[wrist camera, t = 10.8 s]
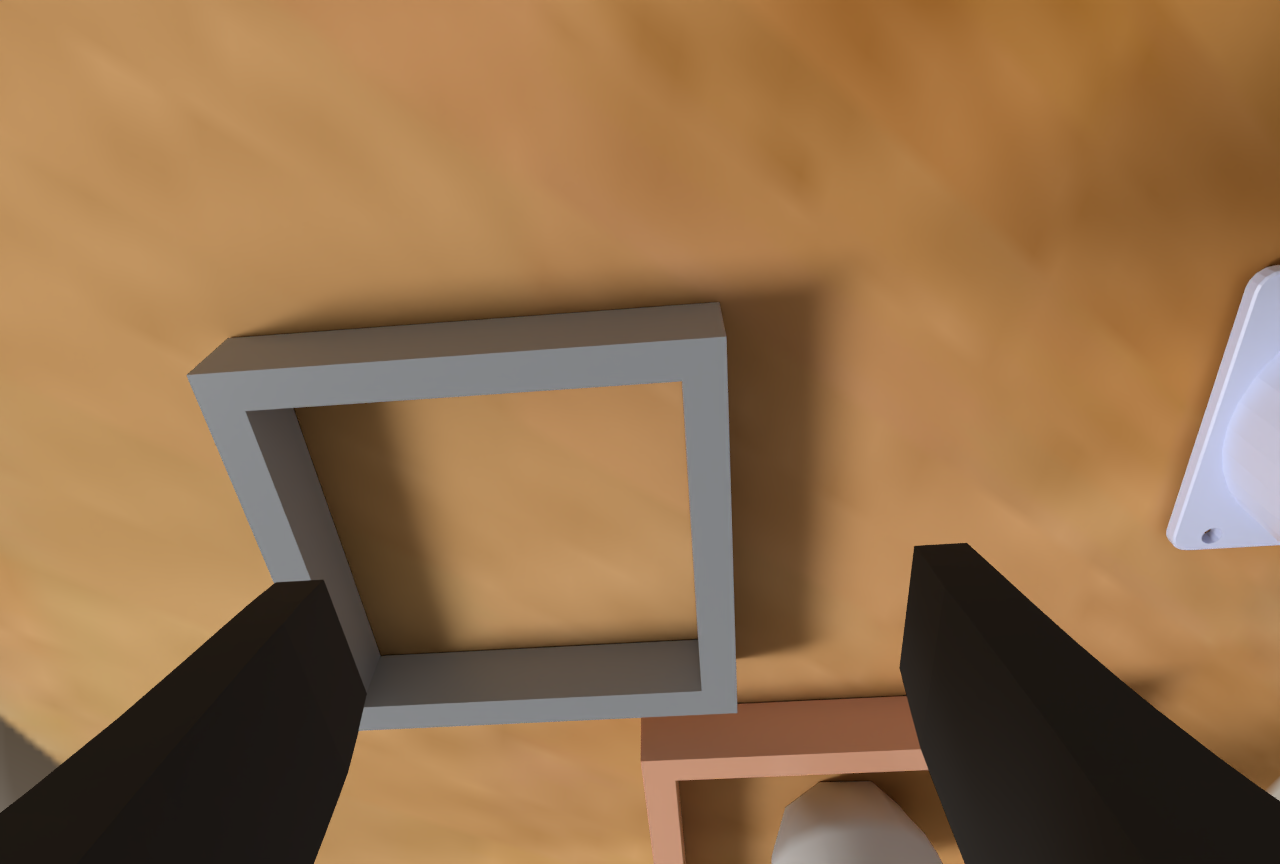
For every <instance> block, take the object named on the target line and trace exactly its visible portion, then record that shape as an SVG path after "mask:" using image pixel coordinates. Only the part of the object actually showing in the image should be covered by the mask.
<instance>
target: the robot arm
mask: <svg viewBox="0 0 1280 864" xmlns="http://www.w3.org/2000/svg"><path fill="white" fill-rule="evenodd" d="M1209 529H1211V530H1210V531H1208V530H1209ZM1206 531H1208V532H1207V533H1205V532H1206ZM1204 533H1205V534H1204ZM1166 536H1167V538H1168V539H1169V541H1170V542H1171V543H1172V544H1173V545H1174V546H1175V547H1176V548H1178V549H1180V550H1199V549H1217V548H1235V547H1253V546H1271V545H1280V265H1274V266H1270V267H1266V268H1264V269H1263V270H1261V271H1259V272H1257V273H1256V274H1255V275H1254V276H1253V277H1252V278H1251V279H1250V281H1249V282H1248V284H1247V286H1246V288H1245V291H1244V294H1243V297H1242V300H1241V303H1240V306H1239V310H1238V313H1237V316H1236V319H1235V322H1234V325H1233V328H1232V331H1231V334H1230V337H1229V340H1228V343H1227V346H1226V349H1225V352H1224V356H1223V359H1222V362H1221V365H1220V368H1219V371H1218V374H1217V377H1216V380H1215V383H1214V386H1213V389H1212V392H1211V395H1210V398H1209V402H1208V405H1207V408H1206V411H1205V414H1204V417H1203V420H1202V423H1201V426H1200V429H1199V432H1198V435H1197V438H1196V441H1195V444H1194V448H1193V451H1192V454H1191V457H1190V460H1189V463H1188V466H1187V469H1186V472H1185V475H1184V478H1183V481H1182V484H1181V487H1180V491H1179V494H1178V497H1177V500H1176V503H1175V506H1174V509H1173V512H1172V515H1171V518H1170V521H1169V524H1168V527H1167V532H1166ZM900 671H901V675H902V679H903V683H904V687H905V691H906V695H907V699H908V703H909V707H910V711H911V715H912V719H913V722H914V726H915V730H916V734H917V737H918V741H919V745H920V748H921V751H922V754H923V756H924V759H925V762H926V764H927V767H928V770H929V772H930V775H931V778H932V780H933V783H934V785H935V788H936V791H937V793H938V796H939V798H940V801H941V804H942V806H943V809H944V811H945V814H946V817H947V819H948V822H949V824H950V827H951V829H952V832H953V834H954V837H955V840H956V842H957V845H958V847H959V850H960V852H961V855H962V858H963V860H964V863H965V864H1280V801H1279V800H1277V799H1276V798H1274V797H1273V796H1272V795H1270V794H1269V793H1267V792H1266V791H1264V790H1263V789H1261V788H1260V787H1259V786H1257V785H1256V784H1254V783H1253V782H1252V781H1250V780H1249V779H1247V778H1246V777H1245V776H1243V775H1242V774H1241V773H1239V772H1238V771H1237V770H1235V769H1234V768H1232V767H1231V766H1230V765H1228V764H1227V763H1226V762H1224V761H1223V760H1222V759H1220V758H1219V757H1218V756H1216V755H1215V754H1214V753H1212V752H1211V751H1210V750H1208V749H1207V748H1206V747H1205V746H1203V745H1202V744H1201V743H1199V742H1198V741H1197V740H1196V739H1194V738H1193V737H1192V736H1190V735H1189V734H1188V733H1186V732H1185V731H1184V730H1183V729H1181V728H1180V727H1179V726H1177V725H1176V724H1175V723H1174V722H1172V721H1171V720H1170V719H1168V718H1167V717H1166V716H1165V715H1163V714H1162V713H1161V712H1159V711H1158V710H1157V709H1156V708H1154V707H1153V706H1152V705H1151V704H1149V703H1148V702H1147V701H1146V700H1144V699H1143V698H1142V697H1141V696H1140V695H1138V694H1137V693H1136V692H1135V691H1133V690H1132V689H1131V688H1130V687H1129V686H1127V685H1126V684H1125V683H1124V682H1122V681H1121V680H1120V679H1119V678H1118V677H1117V676H1115V675H1114V674H1113V673H1112V672H1111V671H1110V670H1108V669H1107V668H1106V667H1105V666H1104V665H1103V664H1101V663H1100V662H1099V661H1098V660H1097V659H1096V658H1094V657H1093V656H1092V655H1091V654H1090V653H1088V652H1087V651H1086V650H1085V649H1084V648H1083V647H1081V646H1080V645H1079V644H1078V643H1077V642H1076V641H1075V640H1073V639H1072V638H1071V637H1070V636H1069V635H1068V634H1067V633H1066V632H1064V631H1063V630H1062V629H1061V628H1060V627H1059V626H1058V625H1056V624H1055V623H1054V622H1053V621H1052V620H1051V619H1050V618H1049V617H1048V616H1047V615H1045V614H1044V613H1043V612H1042V611H1041V610H1040V609H1039V608H1038V607H1037V606H1035V605H1034V604H1033V603H1032V602H1031V601H1030V600H1029V599H1028V598H1027V597H1026V596H1024V595H1023V594H1022V593H1021V592H1020V591H1019V590H1018V589H1017V588H1016V587H1015V586H1013V585H1012V584H1011V583H1010V582H1009V581H1008V580H1007V579H1006V578H1005V577H1004V576H1003V575H1001V574H1000V573H999V572H998V571H997V570H996V569H995V568H994V567H993V566H992V565H991V564H989V563H988V562H987V561H986V560H985V559H984V558H983V557H982V556H981V555H980V554H978V553H977V552H976V551H975V550H974V549H973V548H972V547H971V546H970V545H968V544H967V543H958V544H940V545H923V546H914V553H913V562H912V570H911V578H910V586H909V595H908V603H907V611H906V619H905V627H904V636H903V644H902V652H901V660H900ZM366 696H367V693H366V690H365V687H364V685H363V682H362V679H361V677H360V674H359V671H358V669H357V666H356V663H355V661H354V658H353V656H352V653H351V650H350V648H349V645H348V642H347V640H346V637H345V634H344V632H343V629H342V626H341V624H340V621H339V619H338V616H337V613H336V611H335V608H334V605H333V603H332V600H331V597H330V595H329V592H328V589H327V587H326V584H325V582H324V580H307V581H289V582H276V583H275V584H273V585H272V586H271V587H270V588H268V589H267V590H266V591H264V592H263V593H262V594H261V595H259V596H258V597H257V598H256V599H255V600H253V601H252V602H251V603H250V604H249V605H248V606H246V607H245V608H244V609H243V610H242V611H241V612H239V613H238V614H237V615H236V616H235V617H234V618H233V619H231V620H230V621H229V622H228V623H227V624H226V625H224V626H223V627H222V628H221V629H220V630H219V631H218V632H217V633H215V634H214V635H213V636H212V637H211V638H210V639H209V640H207V641H206V642H205V643H204V644H203V645H202V646H201V647H199V648H198V649H197V650H196V651H195V652H194V653H193V654H192V655H190V656H189V657H188V658H187V659H186V660H185V661H184V662H182V663H181V664H180V665H179V666H178V667H177V668H176V669H174V670H173V671H172V672H171V673H170V674H169V675H167V676H166V677H165V678H164V679H163V680H162V681H161V682H159V683H158V684H157V685H156V686H155V687H154V688H152V689H151V690H150V691H149V692H148V693H147V694H146V695H144V696H143V697H142V698H141V699H140V700H139V701H137V702H136V703H135V704H134V705H133V706H132V707H131V708H129V709H128V710H127V711H126V712H125V713H124V714H122V715H121V716H120V717H119V718H118V719H117V720H115V721H114V722H113V723H112V724H110V725H109V726H108V727H107V728H105V729H104V730H103V731H102V732H101V733H99V734H98V735H97V736H96V737H94V738H93V739H92V740H91V741H89V742H88V743H87V744H86V745H85V746H83V747H82V748H81V749H80V750H78V751H77V752H76V753H75V754H73V755H72V756H71V757H70V758H69V759H67V760H66V761H65V762H64V763H62V764H61V765H60V766H59V767H57V768H56V769H55V770H54V771H53V772H51V773H50V774H49V775H48V776H46V777H45V778H44V779H43V780H42V781H40V782H39V783H38V784H37V785H35V786H34V787H33V788H32V789H30V790H29V791H28V792H27V793H25V794H24V795H23V796H22V797H20V798H19V799H18V800H16V801H15V802H14V803H13V804H11V805H10V806H9V807H7V808H6V809H5V810H3V811H2V812H1V813H0V864H314V862H315V859H316V856H317V854H318V851H319V849H320V846H321V843H322V841H323V838H324V836H325V833H326V830H327V828H328V825H329V822H330V820H331V817H332V814H333V812H334V809H335V806H336V804H337V801H338V798H339V796H340V793H341V790H342V787H343V785H344V782H345V779H346V776H347V774H348V770H349V766H350V762H351V758H352V755H353V751H354V747H355V743H356V739H357V735H358V731H359V726H360V722H361V718H362V713H363V709H364V704H365V700H366Z"/></svg>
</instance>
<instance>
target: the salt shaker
mask: <svg viewBox="0 0 1280 864" xmlns="http://www.w3.org/2000/svg"><path fill="white" fill-rule="evenodd" d="M772 864H943V863H942V861H941V859H940V857H939V855H938V853H937V852H936V850H935V849H934V847H933V846H932V844H931V842H930V841H929V839H928V838H927V836H926V835H925V833H924V832H923V831H922V830H921V829H920V828H919V827H918V826H917V825H916V824H915V823H914V822H913V821H912V820H911V819H910V818H909V817H908V816H907V815H906V813H905V812H904V811H903V810H902V808H901V807H900V806H899V805H898V804H897V803H896V802H895V801H894V800H892V799H891V798H890V797H889V796H888V795H887V794H886V793H884V792H883V791H882V790H881V789H880V788H879V787H877V786H876V785H875V784H874V783H873V782H872V781H848V782H819V783H817V784H816V785H815V786H813V787H812V788H811V789H809V790H808V791H807V792H805V793H804V794H803V795H801V796H800V797H799V798H797V799H796V800H795V801H793V802H792V803H791V804H789V805H788V806H787V807H785V811H784V814H783V818H782V821H781V825H780V829H779V832H778V836H777V839H776V843H775V846H774V850H773V854H772Z"/></svg>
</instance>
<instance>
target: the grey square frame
mask: <svg viewBox="0 0 1280 864" xmlns="http://www.w3.org/2000/svg"><path fill="white" fill-rule="evenodd" d="M187 378H188V380H189V382H190V385H191V387H192V389H193V392H194V394H195V397H196V399H197V401H198V404H199V406H200V408H201V411H202V413H203V416H204V418H205V420H206V423H207V425H208V427H209V430H210V432H211V434H212V437H213V439H214V442H215V444H216V446H217V449H218V451H219V453H220V456H221V458H222V461H223V463H224V465H225V468H226V470H227V472H228V475H229V477H230V480H231V482H232V484H233V487H234V489H235V491H236V494H237V496H238V499H239V501H240V503H241V506H242V508H243V510H244V513H245V515H246V517H247V520H248V522H249V525H250V527H251V529H252V532H253V534H254V536H255V539H256V541H257V544H258V546H259V548H260V551H261V553H262V555H263V558H264V560H265V563H266V565H267V567H268V570H269V572H270V574H271V577H272V579H273V582H274V584H275V583H276V582H289V581H307V580H324V582H325V584H326V587H327V589H328V592H329V595H330V597H331V600H332V603H333V605H334V608H335V611H336V613H337V616H338V619H339V621H340V624H341V626H342V629H343V632H344V634H345V637H346V640H347V642H348V645H349V648H350V650H351V653H352V656H353V658H354V661H355V663H356V666H357V669H358V671H359V674H360V677H361V679H362V682H363V685H364V687H365V690H366V693H367V696H366V700H365V704H364V709H363V713H362V718H361V722H360V726H359V731H362V730H384V729H405V728H427V727H448V726H470V725H491V724H513V723H535V722H556V721H578V720H599V719H621V718H642V717H664V716H685V715H707V714H728V713H737V683H736V648H735V614H734V580H733V545H732V511H731V477H730V443H729V408H728V374H727V340H726V332H725V327H724V322H723V317H722V312H721V307H720V302H713V303H699V304H686V305H672V306H658V307H645V308H631V309H618V310H604V311H591V312H577V313H563V314H550V315H536V316H523V317H509V318H495V319H482V320H468V321H455V322H441V323H428V324H414V325H400V326H387V327H373V328H360V329H346V330H333V331H319V332H305V333H292V334H278V335H265V336H251V337H238V338H227V339H226V340H225V341H224V342H223V343H222V344H221V345H220V346H219V347H217V348H216V349H215V350H214V351H213V352H212V353H211V354H210V355H208V356H207V357H206V358H205V359H204V360H203V361H202V362H201V363H199V364H198V365H197V366H196V367H195V368H194V369H193V370H192V371H190V372H189V373H188V374H187ZM677 381H682V390H683V406H684V422H685V438H686V454H687V470H688V486H689V502H690V518H691V534H692V550H693V566H694V582H695V598H696V614H697V630H698V640H681V641H662V642H643V643H623V644H604V645H584V646H565V647H545V648H526V649H506V650H487V651H467V652H448V653H429V654H409V655H390V656H380V653H379V650H378V647H377V644H376V641H375V639H374V636H373V633H372V630H371V627H370V624H369V622H368V619H367V616H366V613H365V610H364V607H363V605H362V602H361V599H360V596H359V593H358V590H357V588H356V585H355V582H354V579H353V576H352V573H351V571H350V568H349V565H348V562H347V559H346V556H345V553H344V551H343V548H342V545H341V542H340V539H339V536H338V534H337V531H336V528H335V525H334V522H333V519H332V517H331V514H330V511H329V508H328V505H327V502H326V500H325V497H324V494H323V491H322V488H321V485H320V483H319V480H318V477H317V474H316V471H315V468H314V466H313V463H312V460H311V457H310V454H309V451H308V449H307V446H306V443H305V440H304V437H303V434H302V432H301V429H300V426H299V423H298V420H297V417H296V415H295V412H294V409H293V408H298V407H313V406H328V405H342V404H357V403H371V402H386V401H400V400H415V399H430V398H444V397H459V396H473V395H488V394H502V393H517V392H532V391H546V390H561V389H575V388H590V387H605V386H619V385H634V384H648V383H663V382H677Z"/></svg>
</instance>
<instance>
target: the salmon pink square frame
mask: <svg viewBox="0 0 1280 864" xmlns="http://www.w3.org/2000/svg"><path fill="white" fill-rule="evenodd" d="M641 767H642V775H643V783H644V790H645V798H646V806H647V814H648V822H649V829H650V837H651V845H652V853H653V861H654V864H686V857H685V846H684V835H683V824H682V813H681V802H680V791H679V780H701V779H725V778H749V777H772V776H796V775H820V774H844V773H867V772H891V771H915V770H928V767H927V764H926V762H925V759H924V756H923V754H922V751H921V748H920V745H919V741H918V737H917V734H916V730H915V726H914V722H913V719H912V715H911V711H910V707H909V703H908V699H907V696H897V697H875V698H854V699H833V700H812V701H790V702H769V703H748V704H737V713H728V714H707V715H685V716H664V717H642V718H641Z"/></svg>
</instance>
